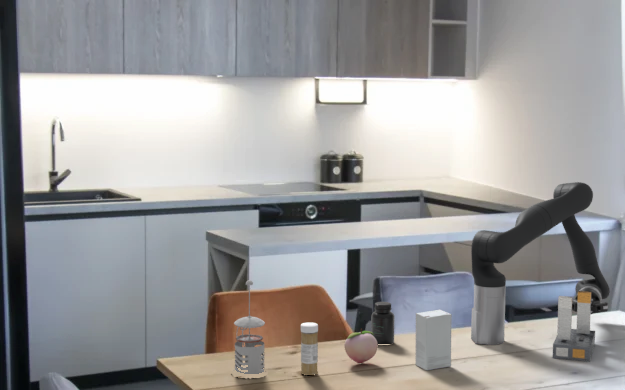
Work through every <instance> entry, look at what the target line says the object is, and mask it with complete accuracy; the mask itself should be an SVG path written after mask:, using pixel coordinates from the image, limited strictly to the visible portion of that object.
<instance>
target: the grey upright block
mask: <svg viewBox="0 0 625 390" xmlns="http://www.w3.org/2000/svg"><path fill="white" fill-rule="evenodd" d="M572 301H573V296H567V295H559V296H558V303H557V304H558V305H557V309H558V310H557V335H556V337H557V339H565V340H571V329H572V316H573V315H572V313H573V311H572Z"/></svg>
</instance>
